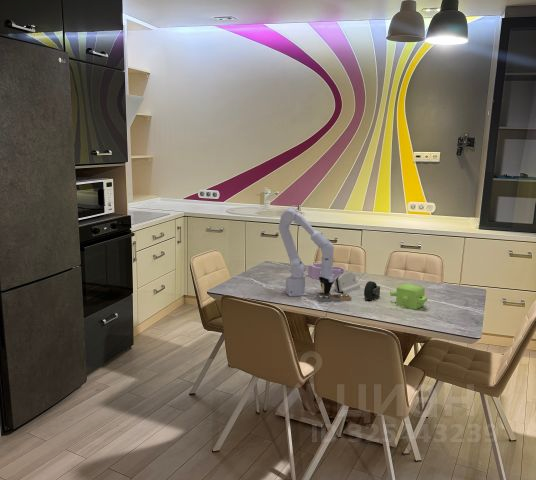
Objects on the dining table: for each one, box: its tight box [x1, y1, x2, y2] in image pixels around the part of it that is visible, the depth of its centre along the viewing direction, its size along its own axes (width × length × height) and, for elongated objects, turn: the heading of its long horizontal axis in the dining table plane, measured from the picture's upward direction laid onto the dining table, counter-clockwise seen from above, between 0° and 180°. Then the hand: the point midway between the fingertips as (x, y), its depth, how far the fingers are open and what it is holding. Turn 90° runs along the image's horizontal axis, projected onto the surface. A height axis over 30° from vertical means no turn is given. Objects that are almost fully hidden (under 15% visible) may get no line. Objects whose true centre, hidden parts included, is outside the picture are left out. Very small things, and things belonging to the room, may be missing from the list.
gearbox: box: [389, 283, 428, 310], centre depth 238 cm, size 18×10×10 cm, turn 49°
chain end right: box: [328, 293, 352, 302], centre depth 246 cm, size 10×6×2 cm, turn 104°
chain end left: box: [316, 294, 342, 303], centre depth 244 cm, size 10×6×2 cm, turn 104°
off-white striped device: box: [334, 272, 361, 294], centre depth 262 cm, size 17×5×10 cm, turn 139°
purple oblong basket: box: [307, 262, 345, 281], centre depth 284 cm, size 20×12×7 cm, turn 57°
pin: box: [320, 282, 329, 295], centre depth 250 cm, size 4×4×7 cm
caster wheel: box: [363, 280, 381, 301], centre depth 249 cm, size 6×10×15 cm
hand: (325, 292), depth 250 cm, fingers closed on pin, 4 cm apart
